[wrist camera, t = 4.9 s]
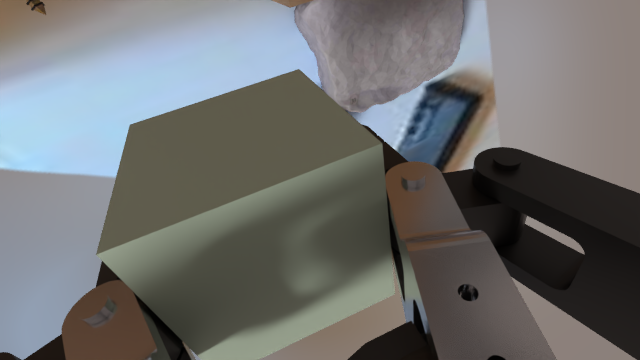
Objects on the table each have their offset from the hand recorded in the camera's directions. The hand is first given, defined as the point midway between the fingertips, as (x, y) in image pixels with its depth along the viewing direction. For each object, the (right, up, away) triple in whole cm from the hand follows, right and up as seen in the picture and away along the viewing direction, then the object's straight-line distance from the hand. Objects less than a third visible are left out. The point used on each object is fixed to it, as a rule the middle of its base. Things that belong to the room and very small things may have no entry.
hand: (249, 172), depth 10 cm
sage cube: (0, 0, 0) cm, 0 cm away
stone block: (+7, +11, +15) cm, 20 cm away
